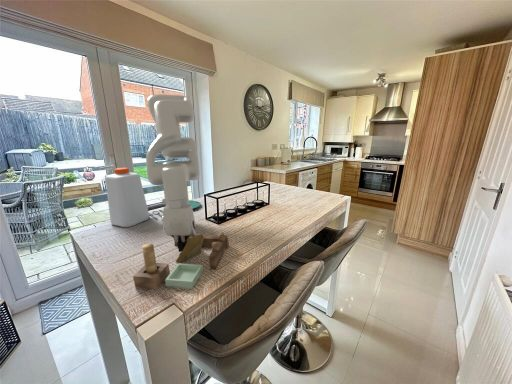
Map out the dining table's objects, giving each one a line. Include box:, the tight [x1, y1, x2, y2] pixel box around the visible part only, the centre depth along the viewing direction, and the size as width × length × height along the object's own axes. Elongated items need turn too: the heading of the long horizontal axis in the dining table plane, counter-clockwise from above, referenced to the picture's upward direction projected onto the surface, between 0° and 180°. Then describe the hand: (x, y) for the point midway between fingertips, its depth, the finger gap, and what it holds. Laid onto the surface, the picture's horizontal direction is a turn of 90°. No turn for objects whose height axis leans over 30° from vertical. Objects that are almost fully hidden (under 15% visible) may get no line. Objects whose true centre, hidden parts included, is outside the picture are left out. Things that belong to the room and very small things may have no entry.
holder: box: [133, 262, 171, 291], centre depth 65 cm, size 7×7×4 cm
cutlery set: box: [149, 199, 202, 221], centre depth 127 cm, size 20×30×2 cm, turn 134°
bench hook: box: [173, 232, 230, 271], centre depth 78 cm, size 22×16×7 cm
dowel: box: [141, 243, 157, 274], centre depth 64 cm, size 3×3×12 cm
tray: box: [164, 263, 204, 290], centre depth 65 cm, size 8×8×2 cm
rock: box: [175, 234, 204, 264], centre depth 76 cm, size 11×9×10 cm
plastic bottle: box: [104, 167, 150, 228], centre depth 108 cm, size 15×15×28 cm
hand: (182, 250), depth 77 cm, fingers closed
